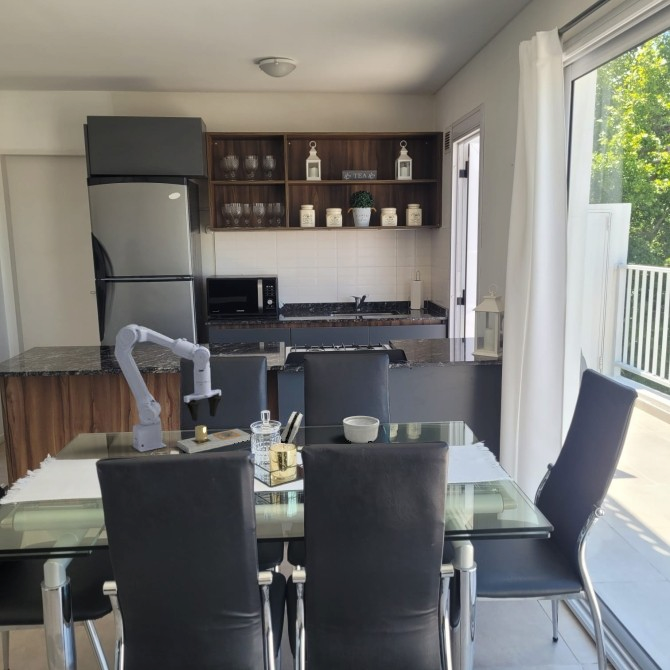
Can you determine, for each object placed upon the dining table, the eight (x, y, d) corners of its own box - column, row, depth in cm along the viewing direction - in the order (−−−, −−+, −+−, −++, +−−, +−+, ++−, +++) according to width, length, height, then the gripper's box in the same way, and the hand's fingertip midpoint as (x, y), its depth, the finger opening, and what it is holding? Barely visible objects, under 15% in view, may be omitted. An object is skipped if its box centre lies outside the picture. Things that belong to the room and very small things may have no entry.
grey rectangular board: (189, 453, 199) (188, 447, 199) (177, 446, 207) (177, 440, 206) (250, 439, 213) (250, 434, 213) (237, 433, 221) (237, 428, 221)
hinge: (285, 429, 226) (293, 406, 224) (296, 433, 226) (304, 410, 224) (277, 443, 209) (285, 417, 208) (289, 447, 209) (298, 422, 208)
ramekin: (382, 434, 218) (382, 416, 217) (375, 445, 205) (375, 426, 204) (347, 432, 221) (347, 414, 220) (339, 443, 209) (339, 424, 208)
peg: (198, 448, 204) (198, 429, 203) (194, 445, 207) (193, 426, 207) (209, 446, 207) (208, 427, 206) (204, 443, 210) (203, 424, 209)
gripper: (191, 386, 199) (192, 424, 200) (225, 379, 209) (227, 416, 211) (179, 383, 203) (181, 420, 205) (214, 376, 214) (215, 412, 216)
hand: (203, 418), depth 208 cm, fingers open, 7 cm apart
